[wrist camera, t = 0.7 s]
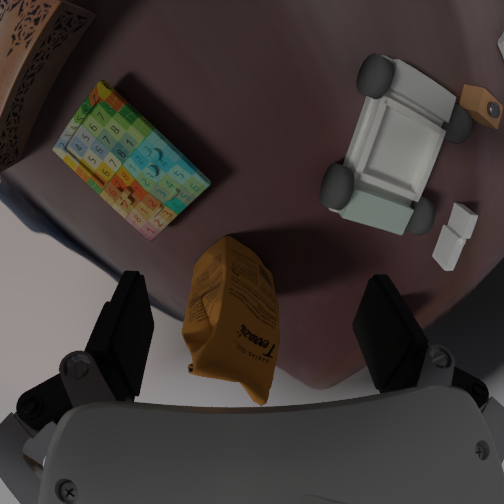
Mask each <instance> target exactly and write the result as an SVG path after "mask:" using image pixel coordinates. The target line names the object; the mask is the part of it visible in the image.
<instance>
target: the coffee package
mask: <svg viewBox="0 0 504 504" xmlns="http://www.w3.org/2000/svg"><path fill="white" fill-rule="evenodd" d="M182 335H183V338H184V340H185V342H186V345H187V347H188V349H189V350H190V353H191V355H192V360H193V363H192V364H190V365H189V366H188V370H189V373H190V374H194V375H198V376H203V377H208V378H216V379H221V380H226V381H232V382H240V383H241V385H242V386H243V387H244V388H245V389H246V391H247V393H248V394H249V395H250V397H251V398H252V400H253V401H254V402H256V403H258V404H259V405H260V406H262V405H264V404H266V403H267V400H268V396H269V389H270V388H271V384H272V380H273V374H274V369H275V365H276V361H277V356H278V348H279V344H280V330H279V302H278V299H277V296H276V292H275V287H274V282H273V276H272V273H271V271H270V270H269V269H268V268H266V267H265V266H264V265H263V263H262V261H261V259H260V258H259V257H258V256H257V255H256V254H255V253H254V252H253V251H252V250H251V249H249V248H248V247H246V246H244V245H243V244H241V243H240V242H239V241H237V240H236V239H234V238H232V237H231V236H225V237H223V238H222V239H220V240H219V241H218V242H217V243H215V244H214V245H212V246H211V247H209V248H208V249H207V250H206V251H205V252H204V254H203V255H202V256H201V257H200V258H199V260H198V261H197V263H196V264H195V266H194V270H193V278H192V285H191V292H190V294H189V300H188V303H187V307H186V314H185V320H184V323H183V328H182Z"/></svg>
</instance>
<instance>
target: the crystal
mask: <svg viewBox="0 0 504 504" xmlns="http://www.w3.org/2000/svg"><path fill="white" fill-rule="evenodd" d="M498 46H499V49H500V51H501V53H502V56H503V58H504V32H503V34H502V35H501V37H500V38H499V39H498Z"/></svg>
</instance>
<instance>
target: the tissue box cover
mask: <svg viewBox="0 0 504 504" xmlns="http://www.w3.org/2000/svg"><path fill="white" fill-rule="evenodd" d="M96 17H97V15H96V14H94V13H92V12H90V11H88V10H86V9H84V8H82V7H80V6H78V5H75V4H73V3H71V2H69V1H67V0H0V172H2V171H4V170H6V169H7V168H9V167H11V166H13V165H15V164H16V163H18V162H20V159H21V156H22V154H23V151H24V148H25V145H26V143H27V140H28V138H29V135H30V133H31V130H32V128H33V125H34V123H35V121H36V118H37V116H38V114H39V112H40V109H41V107H42V105H43V103H44V101H45V99H46V97H47V95H48V93H49V91H50V89H51V87H52V85H53V83H54V82H55V80H56V78H57V76H58V74H59V72H60V71H61V69H62V67H63V66H64V64H65V62H66V61H67V59H68V57H69V56H70V54H71V52H72V51H73V49H74V48H75V46H76V45H77V43H78V42H79V40H80V39H81V37H82V36H83V34H84V33H85V32H86V30H87V29H88V27H89V26H90V25H91V23H92V22H93V21H94V19H95V18H96Z"/></svg>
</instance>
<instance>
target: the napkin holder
mask: <svg viewBox="0 0 504 504" xmlns="http://www.w3.org/2000/svg"><path fill="white" fill-rule="evenodd" d="M477 218H478V215H477V214H475V213H474V212H473V211H471V210H470V209H469V208H467V207H466V206H465V205H463V204H460V203H454V206H453V209H452V213H451V216H450V219H449V222H448V225H443V227H442V230H441V233H440V236H439V239H438V242H437V245H436V247H435V250H434V253H433V255H432V257H433V258H434V259H435V260H436V261H437V262H438V263H439V265H440V266H441V267H442V268H443V269H444V270H445V271H453V269H454V267H455V265H456V263H457V260H458V258H459V255H460V253H461V250H462V248H463V245H464V244H465V242H466V238H467V239H470V237H471V235H472V232H473V229H474V226H475V223H476V221H477Z"/></svg>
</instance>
